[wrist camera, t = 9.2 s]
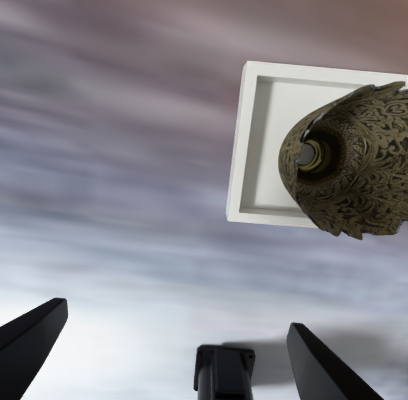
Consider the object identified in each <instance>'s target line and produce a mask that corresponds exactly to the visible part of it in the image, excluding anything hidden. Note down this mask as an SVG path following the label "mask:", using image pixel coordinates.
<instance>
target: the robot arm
mask: <svg viewBox="0 0 408 400" xmlns="http://www.w3.org/2000/svg"><path fill="white" fill-rule="evenodd" d="M67 318H68V307H67V300H66V299H65V298H53V299H51V300H49V301H48V302H46V303H44V304H42V305H40V306H38V307H36V308H34V309H33V310H31V311H29V312H27V313H25V314H23V315H21V316H20V317H18V318H16V319H14V320H12V321H10V322H8V323H6V324H5V325H3V326H1V327H0V400H20V399H21V398H22V396H23V394H24V393H25V391H26V390H27V388H28V387H29V385H30V384H31V382H32V381H33V379H34V378H35V376H36V375H37V373H38V372H39V370H40V368H41V367H42V365H43V364H44V362H45V360H46V358H47V357H48V355H49V353H50V351H51V349H52V347H53V345H54V344H55V342H56V340H57V338H58V336H59V334H60V332H61V331H62V329H63V327H64V325H65V323H66V321H67ZM287 347H288V351H289V356H290V360H291V364H292V369H293V373H294V378H295V382H296V386H297V390H298V393H299V396H300V399H301V400H384V399H383V398H382V397H381V396H380V395H379V394H378V393H376V392H375V391H374V390H373V389H372V388H371V387H370V386H369V385H368V384H367V383H366V382H365V381H364V380H363V379H361V378H360V377H359V376H358V375H357V374H356V373H355V372H354V371H353V370H352V369H351V368H350V367H349V366H348V365H346V364H345V363H344V362H343V361H342V360H341V359H340V358H339V357H338V356H337V355H336V354H335V353H334V352H333V351H331V350H330V349H329V348H328V347H327V346H326V345H325V344H324V343H323V342H322V341H321V340H320V339H319V338H318V337H316V336H315V335H314V334H313V333H312V332H311V331H310V330H309V329H308V328H307V327H306V326H305V325H303V324H302V323H294V322H293V323H291V325H290V328H289V332H288V335H287ZM201 351H202V352H201ZM254 361H255V353H254V351H253V350H244V349H230V348H216V347H202V346H201V347H198V348H197V355H196V365H195V376H194V390H195V391H198V400H253V394H252V389H251V383H250V381H251V376H252V371H253V366H254Z"/></svg>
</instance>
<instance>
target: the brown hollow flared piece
mask: <svg viewBox="0 0 408 400" xmlns="http://www.w3.org/2000/svg"><path fill="white" fill-rule="evenodd" d="M405 84H406V82H405V81H396V82H392V83H389V84H386V85H383V86H379V87H377V86H375V85H374V84H369V85H366V86H363V87H360V88H358V89H356V90H354V91H352V92H350V93H349V94H347V95H345V96H343V97H341V98H339V99H337V100H335V101H332V102H330V103H328V104H326V105H324V106H322V107H320V108H318V109H316V110H315V111H313V112H311V113H310V114H308V115H307V116H305V117H304V118H302V119H301V120H300V121H299V122H298V123H296V124H295V125H294V127H293V128H292V129H291V130H290V131H289V133H288V134H287V135H286V137H285V139H284V141H283V143H282V145H281V148H280V151H279V156H278V169H279V174H280V178H281V181H282V183H283V185H284V187H285V188H286V190H287V191H288V193H289V194H290V196H291V197H292V198H293V200H294V201H295V202H296V203H297V205H298V206H299V207H300V208H301V210H302V211H303V213H304V214H305V215H307V216H308V218H309V219H310V220H311V221H312V222H313V223H314V224H315V225H316V226H317V227H318V228H319V229H321V230H323V231H324V230H326V231H327V232H330V233H331V234H333V235H334V236H339V234H341V231H342V232H344V233H346V234H347V235H348V236H351V237H354V238H356V239H359V240H362V238H363V236H362V233H369V234H372V235H394V234H396V233H397V232H398V231H399V228H400V226H401V225H402V223H403V222H404V221H408V89H404V90H400V89H401V88H402V87H404V86H406V85H405ZM303 144H308V145H310V146H312V147H313V149H314V152H315V154H314V158H313V159H312V161H311V162H310V163H308V164H305V165H302V164H299V163H298V160H299V159H300V157H301V151H302V147H303Z"/></svg>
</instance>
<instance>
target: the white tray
mask: <svg viewBox="0 0 408 400" xmlns="http://www.w3.org/2000/svg"><path fill="white" fill-rule="evenodd" d="M396 81H405V82H406V84H405V85H406V86H404V87H402V88H401V89H400V90H404V89H408V75H401V74H390V73H379V72H368V71H357V70H345V69H334V68H323V67H312V66H301V65H289V64H278V63H267V62H256V61H247V62H246V64H245V66H244V68H243V70H242V79H241V88H240V96H239V105H238V113H237V122H236V130H235V139H234V147H233V156H232V164H231V173H230V181H229V190H228V198H227V207H226V215H227V219H228V221H234V222H247V223H259V224H272V225H284V226H297V227H309V228H318V227H317V226H316V225H315V224H314V223H313V222H312V221H311V220H310V219H309V218H308V216H307V215H305V214H304V213H303V211H302V210H301V208H300V207H299V206H298V205H297V203H296V202H295V201H294V200H293V198H292V197H291V196H290V194H289V193H288V191H287V190H286V188H285V187H284V185H283V183H282V181H281V178H280V174H279V169H278V156H279V151H280V148H281V145H282V143H283V141H284V139H285V137H286V135H287V134H288V133H289V131H290V130H291V129H292V128H293V127H294V125H295V124H296V123H298V122H299V121H300V120H301V119H302V118H304V117H305V116H307V115H308V114H310V113H311V112H313V111H315V110H316V109H318V108H320V107H322V106H324V105H326V104H328V103H330V102H332V101H335V100H337V99H339V98H341V97H343V96H345V95H347V94H349V93H350V92H352V91H354V90H356V89H358V88H360V87H363V86H366V85H369V84H374V85H375V86H377V87H379V86H383V85H386V84H389V83H392V82H396ZM314 154H315V152H314V149H313V147H312V146H310V145H308V144H303V147H302V151H301V157H300V159H299V160H298V163H299V164H302V165H305V164H308V163H310V162H311V161H312V159H313V158H314Z"/></svg>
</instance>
